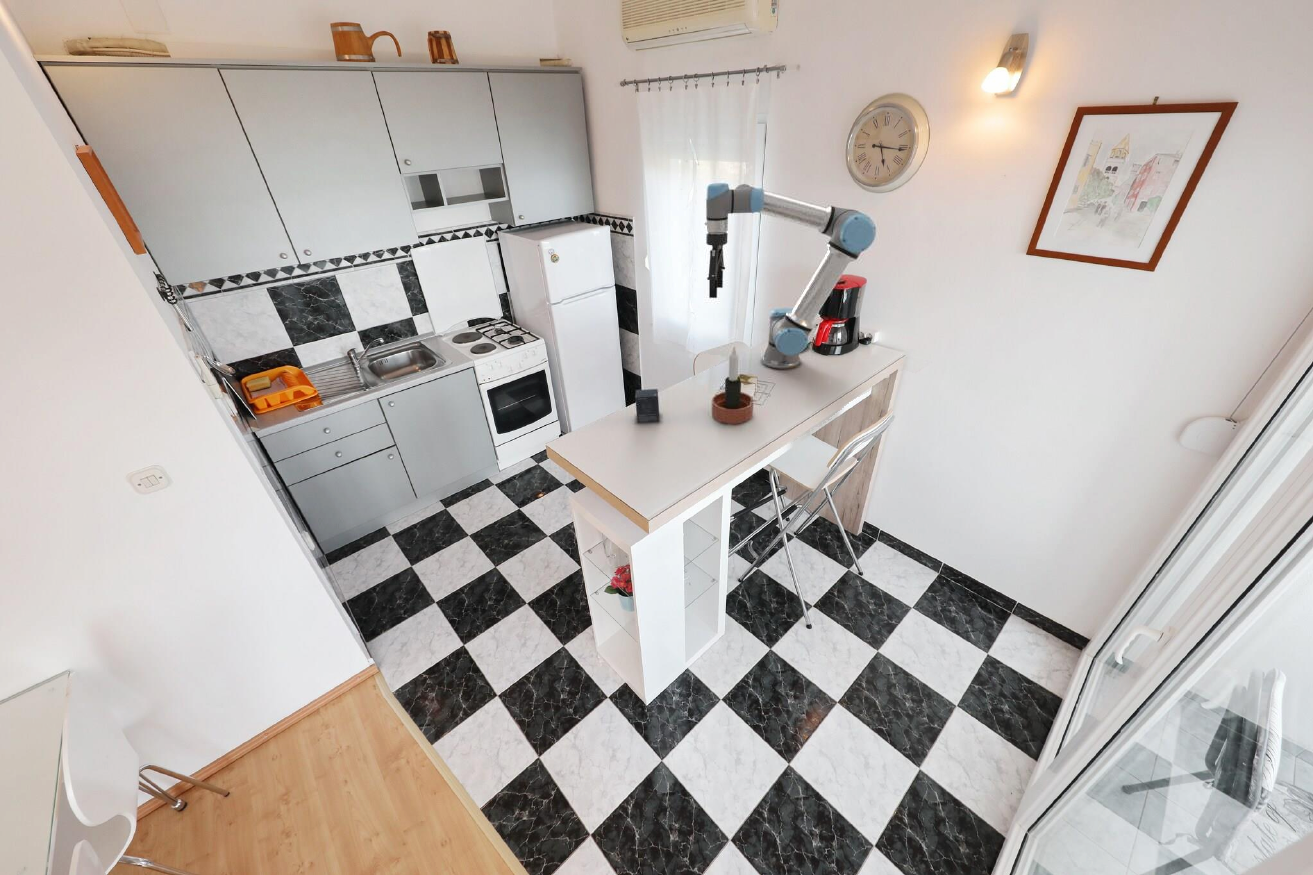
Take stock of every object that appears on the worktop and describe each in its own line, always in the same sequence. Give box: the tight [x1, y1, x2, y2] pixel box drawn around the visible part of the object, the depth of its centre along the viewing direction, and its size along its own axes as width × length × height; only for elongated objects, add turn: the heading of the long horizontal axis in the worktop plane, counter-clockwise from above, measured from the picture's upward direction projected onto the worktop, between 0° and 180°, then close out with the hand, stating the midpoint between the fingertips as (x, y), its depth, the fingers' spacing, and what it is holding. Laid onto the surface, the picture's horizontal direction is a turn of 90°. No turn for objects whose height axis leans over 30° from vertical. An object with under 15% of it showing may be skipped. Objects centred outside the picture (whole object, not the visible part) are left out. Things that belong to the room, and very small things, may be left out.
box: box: [634, 388, 660, 424], centre depth 176 cm, size 8×6×11 cm
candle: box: [724, 346, 742, 409], centre depth 171 cm, size 5×5×25 cm
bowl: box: [711, 391, 755, 425], centre depth 177 cm, size 14×14×6 cm
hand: (716, 292), depth 188 cm, fingers open, 13 cm apart
